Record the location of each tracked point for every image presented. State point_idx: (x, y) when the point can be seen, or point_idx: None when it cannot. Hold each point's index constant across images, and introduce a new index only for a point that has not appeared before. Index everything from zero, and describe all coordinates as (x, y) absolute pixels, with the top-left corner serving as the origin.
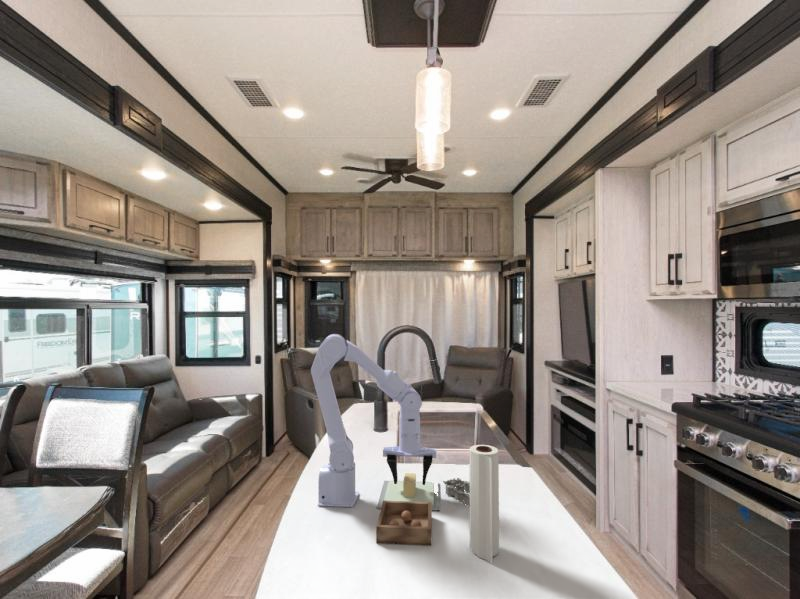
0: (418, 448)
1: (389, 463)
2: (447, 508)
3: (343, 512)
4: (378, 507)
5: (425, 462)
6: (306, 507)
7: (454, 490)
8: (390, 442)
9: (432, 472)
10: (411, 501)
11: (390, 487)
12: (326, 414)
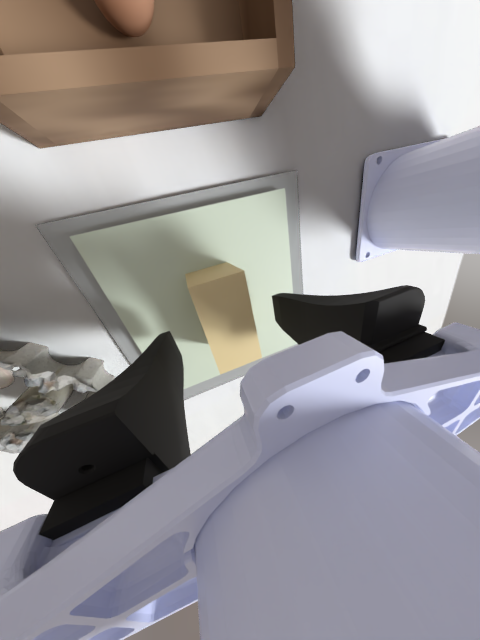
0: (203, 622)
1: (387, 289)
2: (24, 266)
3: (388, 111)
4: (291, 171)
5: (87, 410)
6: (475, 125)
7: (11, 364)
8: None
9: (206, 440)
10: (183, 234)
11: None
12: None
